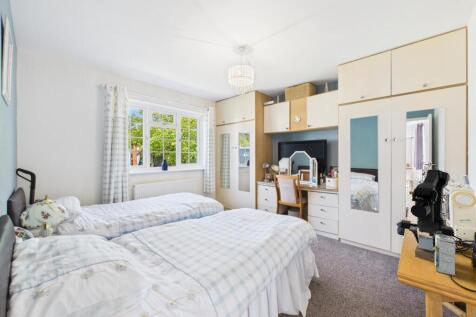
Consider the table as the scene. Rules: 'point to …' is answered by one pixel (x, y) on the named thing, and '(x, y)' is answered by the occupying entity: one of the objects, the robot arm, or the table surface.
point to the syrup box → (445, 254)
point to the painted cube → (426, 242)
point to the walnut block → (425, 254)
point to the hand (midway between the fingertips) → (425, 245)
